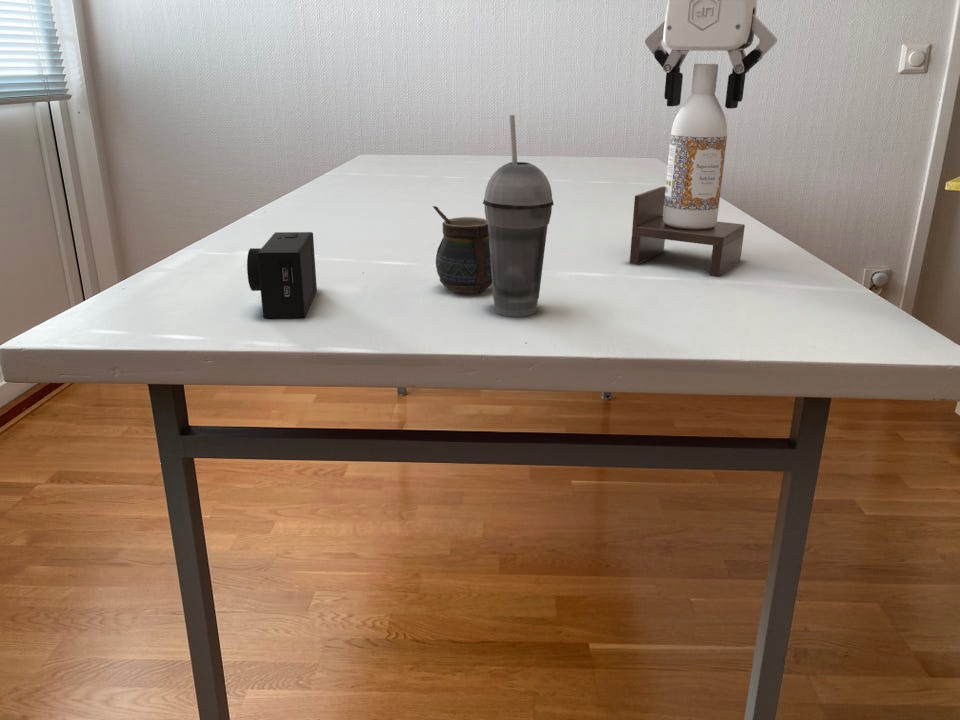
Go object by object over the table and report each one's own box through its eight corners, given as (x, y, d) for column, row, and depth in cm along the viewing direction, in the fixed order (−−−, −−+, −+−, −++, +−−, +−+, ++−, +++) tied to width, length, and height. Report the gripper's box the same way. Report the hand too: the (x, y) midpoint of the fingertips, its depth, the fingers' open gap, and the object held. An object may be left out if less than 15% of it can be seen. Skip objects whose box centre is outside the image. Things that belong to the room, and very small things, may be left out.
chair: (740, 261, 106) (749, 194, 103) (718, 276, 98) (727, 204, 95) (656, 249, 112) (661, 186, 108) (629, 263, 104) (634, 195, 101)
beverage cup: (514, 325, 79) (519, 119, 71) (467, 309, 84) (468, 115, 77) (563, 311, 83) (573, 116, 76) (516, 297, 88) (521, 112, 81)
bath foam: (676, 231, 99) (693, 63, 92) (653, 221, 105) (667, 63, 98) (726, 229, 100) (746, 64, 93) (700, 219, 107) (718, 64, 100)
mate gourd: (509, 292, 90) (512, 205, 87) (453, 301, 86) (453, 211, 83) (477, 278, 96) (477, 196, 92) (422, 286, 92) (421, 201, 88)
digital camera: (269, 291, 90) (263, 231, 87) (317, 291, 90) (313, 230, 87) (251, 319, 80) (244, 252, 77) (304, 318, 80) (299, 251, 78)
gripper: (636, -52, 93) (625, 105, 99) (788, -63, 84) (765, 110, 90) (658, -45, 99) (646, 103, 105) (802, -54, 90) (780, 108, 96)
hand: (701, 105), depth 98 cm, fingers open, 6 cm apart
